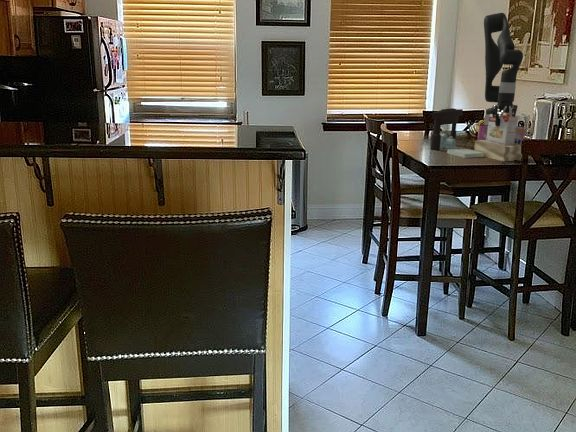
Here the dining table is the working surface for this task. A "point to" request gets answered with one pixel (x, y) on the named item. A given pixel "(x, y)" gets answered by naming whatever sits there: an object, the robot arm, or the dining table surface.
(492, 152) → the holder
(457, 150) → the plate
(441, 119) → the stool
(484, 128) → the gum box
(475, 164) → the dining table surface
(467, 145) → the dining table surface
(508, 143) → the cracker box
